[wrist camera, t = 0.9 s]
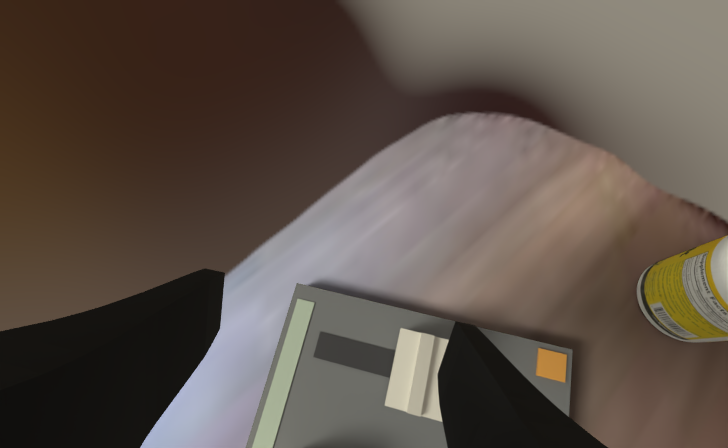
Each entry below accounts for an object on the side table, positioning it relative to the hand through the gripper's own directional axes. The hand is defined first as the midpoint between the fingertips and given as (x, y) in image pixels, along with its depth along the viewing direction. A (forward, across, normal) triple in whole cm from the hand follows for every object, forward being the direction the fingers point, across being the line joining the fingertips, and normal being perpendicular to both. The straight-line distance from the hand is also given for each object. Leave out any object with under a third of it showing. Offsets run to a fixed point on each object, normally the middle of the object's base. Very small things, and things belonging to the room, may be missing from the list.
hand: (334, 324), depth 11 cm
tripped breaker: (+9, -5, +8) cm, 13 cm away
